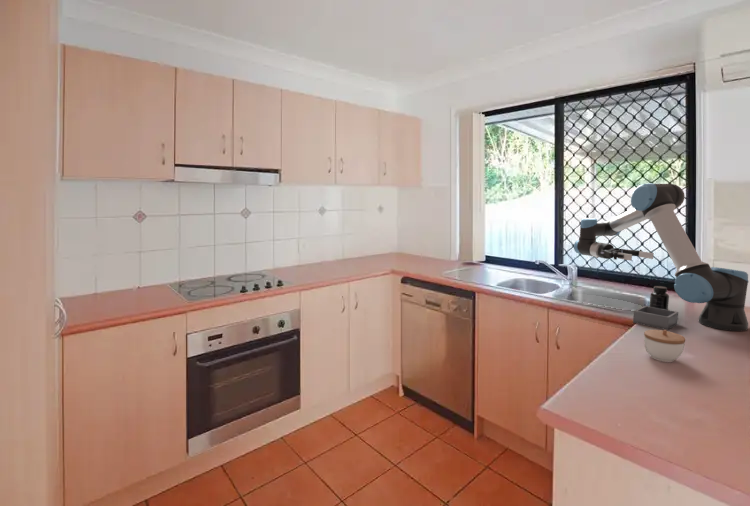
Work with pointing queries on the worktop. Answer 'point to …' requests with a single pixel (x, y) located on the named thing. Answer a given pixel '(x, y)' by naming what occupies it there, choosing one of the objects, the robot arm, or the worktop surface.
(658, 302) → the supplement bottle
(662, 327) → the bin
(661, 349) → the lidded jar
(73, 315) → the worktop surface
